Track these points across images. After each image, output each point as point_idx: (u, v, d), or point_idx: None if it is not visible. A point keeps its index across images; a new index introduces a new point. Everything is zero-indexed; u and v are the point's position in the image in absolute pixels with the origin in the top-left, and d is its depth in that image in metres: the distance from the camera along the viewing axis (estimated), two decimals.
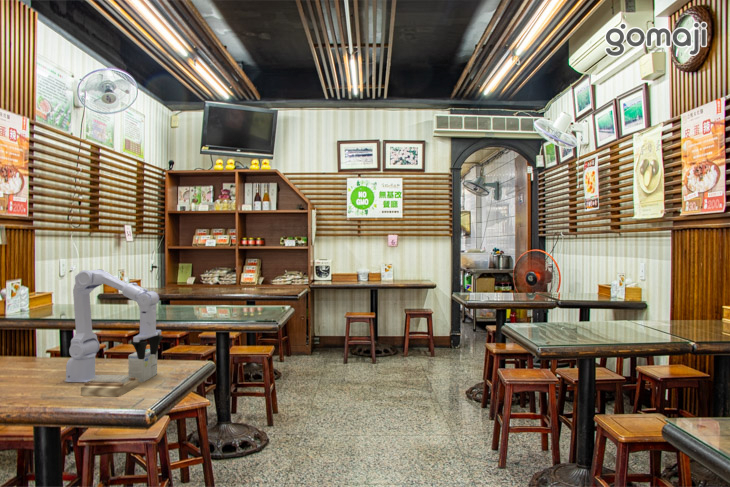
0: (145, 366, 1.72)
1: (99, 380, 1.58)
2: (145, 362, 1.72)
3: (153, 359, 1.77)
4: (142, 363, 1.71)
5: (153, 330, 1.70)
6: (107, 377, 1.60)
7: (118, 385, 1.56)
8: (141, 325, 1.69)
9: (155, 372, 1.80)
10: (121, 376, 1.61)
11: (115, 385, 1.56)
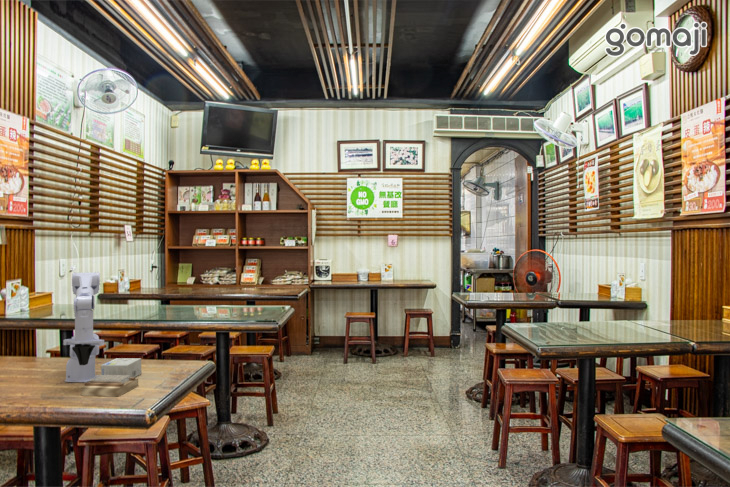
0: (114, 364, 1.72)
1: (99, 380, 1.58)
2: (110, 364, 1.72)
3: (119, 360, 1.78)
4: (108, 366, 1.71)
5: (77, 337, 1.58)
6: (107, 377, 1.60)
7: (118, 385, 1.56)
8: None
9: (136, 359, 1.80)
10: (121, 376, 1.61)
11: (115, 385, 1.56)
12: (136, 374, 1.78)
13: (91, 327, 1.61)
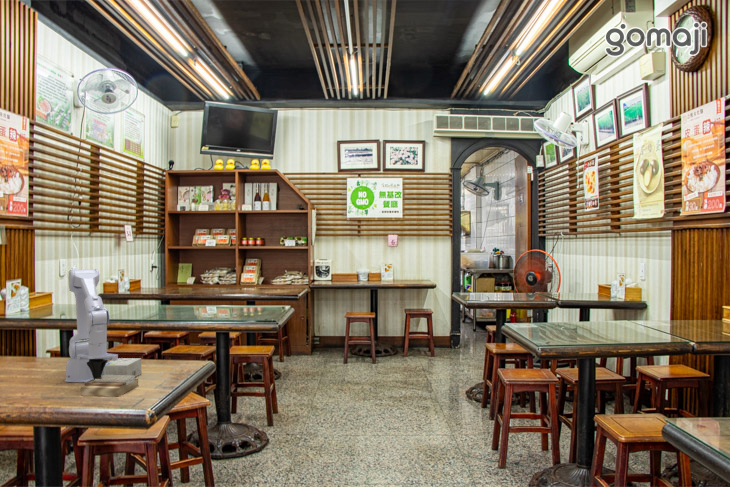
0: (114, 364, 1.72)
1: (104, 380, 1.58)
2: (110, 364, 1.72)
3: (119, 360, 1.78)
4: (108, 366, 1.71)
5: (91, 352, 1.58)
6: (112, 377, 1.60)
7: (118, 385, 1.56)
8: None
9: (136, 359, 1.80)
10: (125, 376, 1.61)
11: (115, 385, 1.56)
12: (136, 374, 1.78)
13: (106, 341, 1.61)
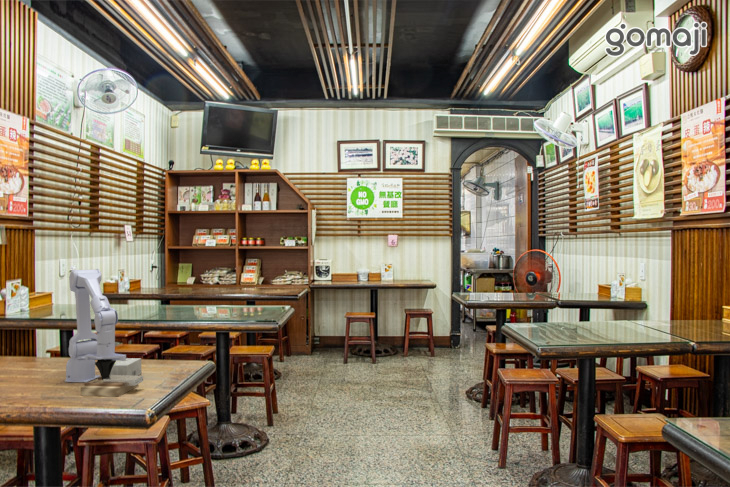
0: (114, 364, 1.72)
1: (112, 380, 1.58)
2: None
3: None
4: None
5: (99, 353, 1.58)
6: (120, 377, 1.60)
7: (118, 385, 1.56)
8: None
9: (136, 359, 1.80)
10: (134, 376, 1.61)
11: (115, 385, 1.56)
12: (136, 374, 1.78)
13: (114, 341, 1.61)
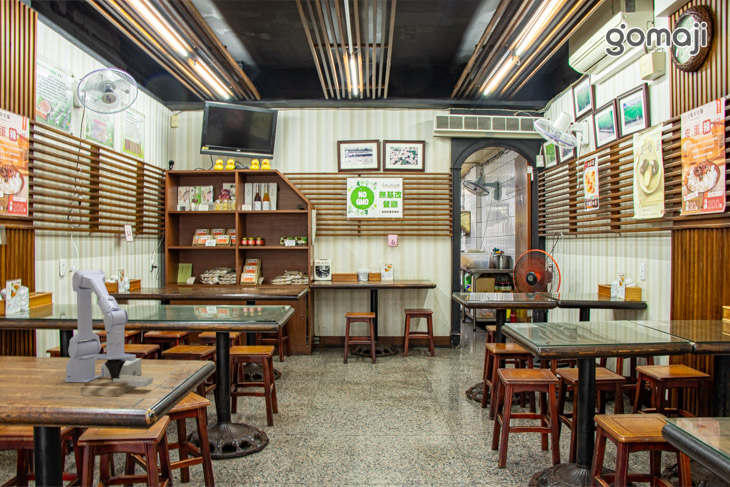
0: None
1: (122, 380, 1.57)
2: None
3: None
4: None
5: (109, 353, 1.57)
6: (130, 378, 1.59)
7: (118, 385, 1.56)
8: None
9: (136, 359, 1.80)
10: (144, 378, 1.61)
11: (115, 385, 1.56)
12: (136, 374, 1.78)
13: None
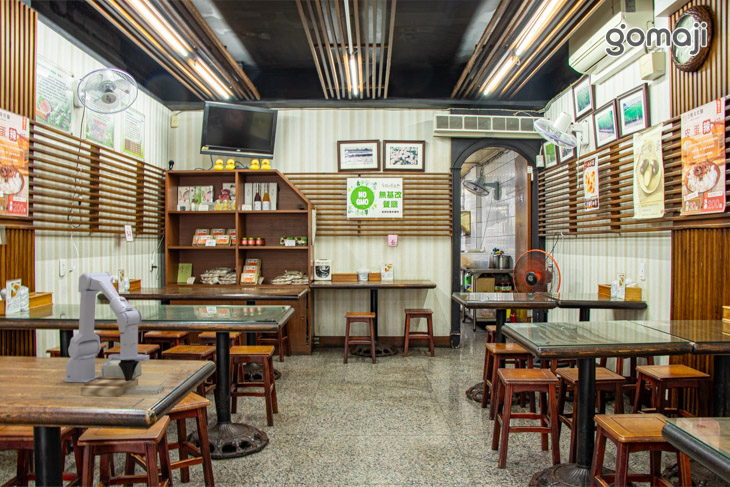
0: (114, 364, 1.72)
1: (134, 391, 1.57)
2: (110, 364, 1.72)
3: None
4: (108, 366, 1.71)
5: (122, 353, 1.57)
6: (141, 387, 1.59)
7: (118, 385, 1.56)
8: None
9: None
10: (155, 386, 1.60)
11: (115, 385, 1.56)
12: (136, 374, 1.78)
13: (137, 342, 1.61)
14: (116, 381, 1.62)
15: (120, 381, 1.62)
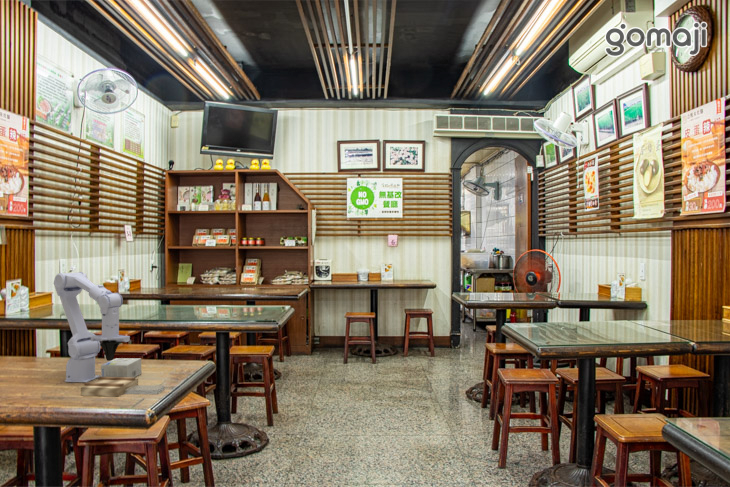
0: (114, 364, 1.72)
1: (134, 391, 1.57)
2: (110, 364, 1.72)
3: (119, 360, 1.78)
4: (108, 366, 1.71)
5: (104, 334, 1.65)
6: (141, 388, 1.59)
7: (118, 385, 1.56)
8: None
9: (136, 359, 1.80)
10: (155, 386, 1.60)
11: (115, 385, 1.56)
12: (136, 374, 1.78)
13: (118, 323, 1.69)
14: (116, 381, 1.62)
15: (120, 381, 1.62)
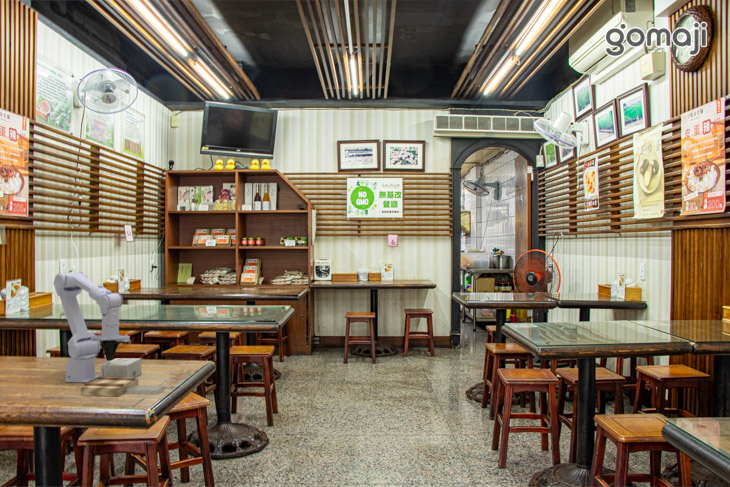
0: (114, 364, 1.72)
1: (134, 391, 1.57)
2: (110, 364, 1.72)
3: (119, 360, 1.78)
4: (108, 366, 1.71)
5: (104, 334, 1.65)
6: (141, 388, 1.59)
7: (118, 385, 1.56)
8: None
9: (136, 359, 1.80)
10: (155, 386, 1.60)
11: (115, 385, 1.56)
12: (136, 374, 1.78)
13: (118, 323, 1.69)
14: (116, 381, 1.62)
15: (120, 381, 1.62)
